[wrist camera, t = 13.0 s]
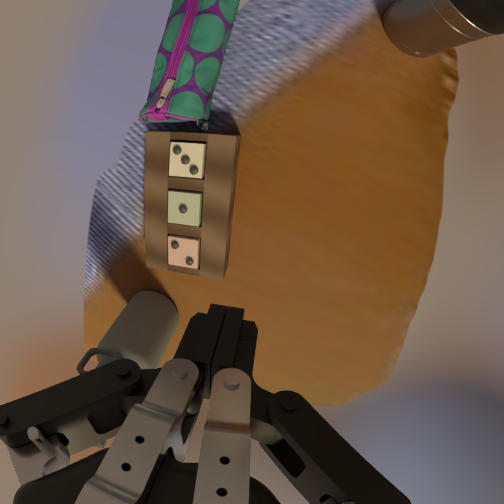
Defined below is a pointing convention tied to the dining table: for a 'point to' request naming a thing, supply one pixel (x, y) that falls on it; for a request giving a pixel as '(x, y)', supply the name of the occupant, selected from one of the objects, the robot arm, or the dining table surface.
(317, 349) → the dining table surface
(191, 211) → the button one dot
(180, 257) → the button two dots
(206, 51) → the pencil case
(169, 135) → the button panel
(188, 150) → the button three dots
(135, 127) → the dining table surface
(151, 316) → the water bottle
